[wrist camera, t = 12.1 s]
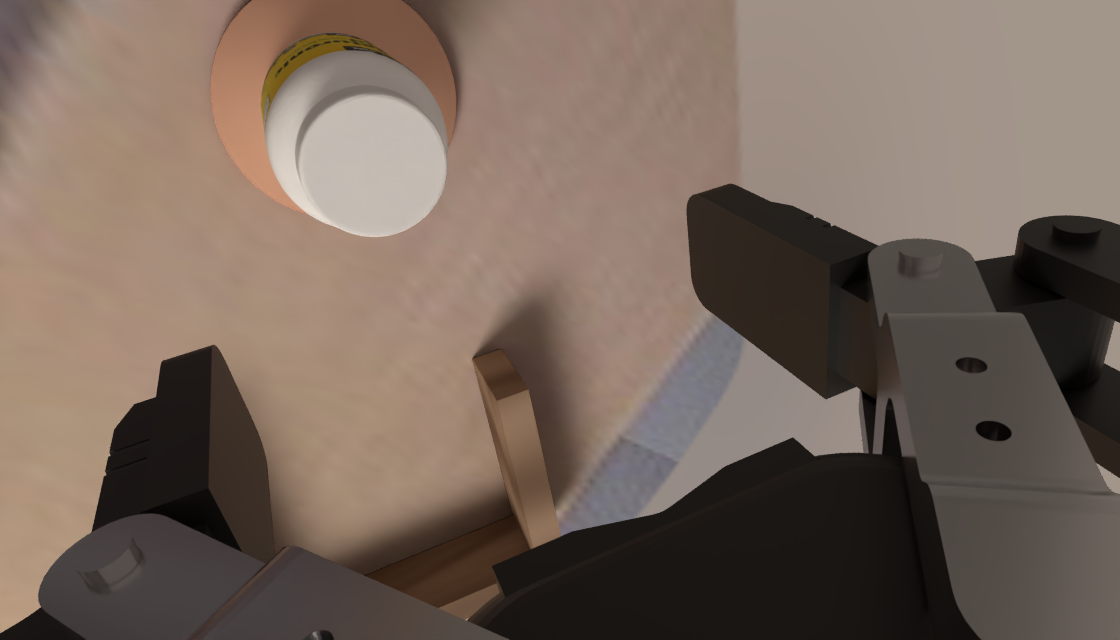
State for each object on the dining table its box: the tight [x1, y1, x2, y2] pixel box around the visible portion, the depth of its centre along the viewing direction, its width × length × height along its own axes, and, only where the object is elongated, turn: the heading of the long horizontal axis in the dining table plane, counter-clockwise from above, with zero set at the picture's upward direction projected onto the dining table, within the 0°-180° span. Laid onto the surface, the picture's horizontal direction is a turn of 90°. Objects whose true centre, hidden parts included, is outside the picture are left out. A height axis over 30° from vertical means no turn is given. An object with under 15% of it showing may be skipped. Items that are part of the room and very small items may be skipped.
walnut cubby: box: [365, 349, 561, 620], centre depth 36 cm, size 12×16×4 cm
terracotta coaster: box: [210, 0, 456, 214], centre depth 29 cm, size 9×9×1 cm
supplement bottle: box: [261, 32, 448, 237], centre depth 24 cm, size 5×5×10 cm
